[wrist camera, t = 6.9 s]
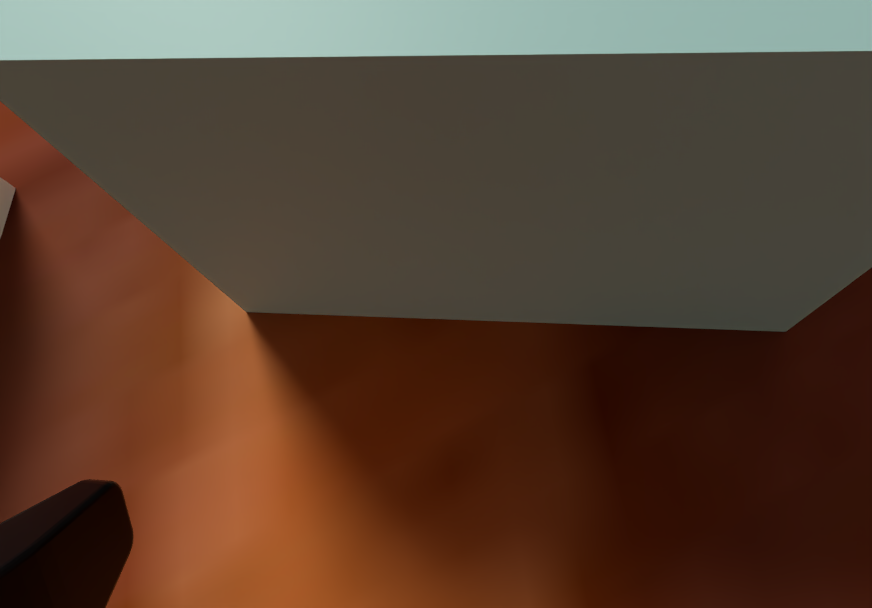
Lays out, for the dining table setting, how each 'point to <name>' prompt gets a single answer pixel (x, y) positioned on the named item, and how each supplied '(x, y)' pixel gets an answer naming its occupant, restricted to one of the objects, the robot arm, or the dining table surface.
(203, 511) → the dining table surface
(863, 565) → the dining table surface
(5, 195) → the cream block
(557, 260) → the teal block
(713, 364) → the dining table surface
